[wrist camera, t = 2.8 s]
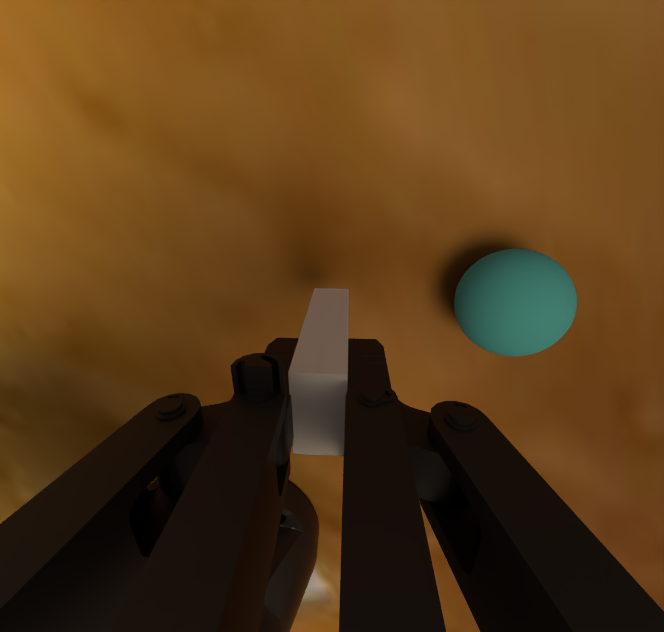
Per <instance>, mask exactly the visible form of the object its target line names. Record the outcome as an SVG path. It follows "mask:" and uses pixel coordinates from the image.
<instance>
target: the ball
mask: <svg viewBox="0 0 664 632" xmlns="http://www.w3.org/2000/svg"><path fill="white" fill-rule="evenodd" d="M576 306H577V295H576V291H575V287H574V284H573V282H572V280H571V278H570V276H569V275H568V273H567V272H566V271H565V269H564V268H563V267H562V266H561V265H560V264H559V263H557V262H556V261H555V260H553V259H552V258H550V257H548V256H546V255H544V254H542V253H539V252H536V251H532V250H527V249H506V250H501V251H498V252H494V253H491V254H489V255H487V256H485V257H483V258H481V259H480V260H478V261H477V262H475V263H474V264H473V265H472V266H471V267H470V268H469V269H468V270H467V271H466V272H465V273H464V275H463V276H462V278H461V280H460V281H459V283H458V286H457V289H456V292H455V298H454V310H455V315H456V318H457V321H458V324H459V325H460V327H461V329H462V331H463V332H464V333H465V335H466V336H467V337H468V338H469V339H470V340H471V341H472V342H473V343H475V344H476V345H478V346H479V347H481V348H483V349H485V350H487V351H489V352H492V353H495V354H499V355H504V356H524V355H530V354H534V353H537V352H540V351H542V350H544V349H546V348H548V347H550V346H551V345H553V344H554V343H555V342H557V341H558V340H559V339H560V338H561V337H562V336H563V335H564V334H565V333H566V331H567V330H568V329H569V327H570V325H571V324H572V322H573V319H574V317H575V313H576Z"/></svg>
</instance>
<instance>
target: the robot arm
mask: <svg viewBox="0 0 664 632" xmlns="http://www.w3.org/2000/svg"><path fill="white" fill-rule="evenodd" d="M348 318H349V289H324V288H314V291H313V295H312V298H311V301H310V304H309V307H308V311H307V314H306V317H305V320H304V323H303V327H302V330H301V333H300V336H299V338H276V339H275V340H274V341H273V342H271V343H270V344H269V345H268V347H267V349H266V351H265V353H254V354H250V355H246V356H243V357H241V358H239V359H237V360H236V361H235V362H234V363H233V364H232V365H231V373H232V380H233V387H234V395H233V397H232V399H231V400H230V401H227V402H224V403H220V404H214V405H209V406H203V407H201V404H200V401H199V400H198V398H197V397H196V396H194V395H191V394H185V393H178V394H172V395H168V396H165V397H162V398H160V399H157V400H156V401H154V402H153V403H151V404H149V405H148V406H147V407H145V408H144V409H143V410H142V411H140V412H139V413H138V414H137V415H136V416H134V417H133V418H132V419H131V420H129V421H128V422H127V423H126V424H124V425H123V426H122V427H121V428H119V429H118V430H117V431H116V432H114V433H113V434H112V435H111V436H109V437H108V438H107V439H106V440H104V441H103V442H102V443H101V444H99V445H98V446H97V447H96V448H94V449H93V450H92V451H91V452H89V453H88V454H87V455H86V456H84V457H83V458H82V459H81V460H79V461H78V462H77V463H76V464H74V465H73V466H72V467H71V468H69V469H68V470H67V471H66V472H64V473H63V474H62V475H61V476H60V477H58V478H57V479H56V480H55V481H53V482H52V483H51V484H50V485H48V486H47V487H46V488H45V489H43V490H42V491H41V492H40V493H38V494H37V495H36V496H35V497H33V498H32V499H31V500H30V501H28V502H27V503H26V504H25V505H23V506H22V507H21V508H20V509H18V510H17V511H16V512H15V513H13V514H12V515H11V516H10V517H8V518H7V519H6V520H5V521H3V522H2V523H1V524H0V632H290V629H291V627H292V624H293V622H294V619H295V616H296V614H297V611H298V609H299V606H300V603H301V601H302V598H303V596H304V593H305V590H306V588H307V585H308V582H309V580H310V577H311V575H312V572H313V569H314V566H315V562H316V558H317V548H318V536H319V524H318V519H317V515H316V513H315V510H314V509H313V507H312V505H311V503H310V502H309V501H308V499H307V498H306V497H305V496H304V495H303V493H302V492H301V491H300V490H298V489H297V488H296V487H295V486H294V485H292V484H291V483H290V482H288V479H289V474H290V451H291V447H292V443H293V454H312V455H336V456H344V469H343V506H342V543H341V580H340V617H339V632H446V629H445V624H444V619H443V614H442V609H441V605H440V600H439V595H438V590H437V585H436V580H435V575H434V570H433V566H432V561H431V556H430V551H429V546H428V541H427V536H426V532H425V527H424V522H423V517H422V512H421V507H420V504H421V506H422V508H423V510H424V512H425V514H426V517H427V519H428V521H429V523H430V525H431V527H432V529H433V531H434V534H435V536H436V538H437V540H438V542H439V544H440V546H441V548H442V551H443V553H444V555H445V557H446V559H447V561H448V563H449V566H450V568H451V570H452V572H453V574H454V576H455V578H456V580H457V583H458V585H459V587H460V589H461V591H462V593H463V595H464V597H465V600H466V602H467V604H468V606H469V608H470V610H471V612H472V615H473V617H474V619H475V621H476V623H477V625H478V627H479V629H480V632H664V611H663V610H662V609H661V608H660V607H659V606H658V605H657V604H656V603H655V601H654V600H653V599H652V598H651V597H650V596H649V595H648V594H647V593H646V592H645V590H644V589H643V588H642V587H641V586H640V585H639V584H638V583H637V582H636V581H635V579H634V578H633V577H632V576H631V575H630V574H629V573H628V572H627V571H626V570H625V568H624V567H623V566H622V565H621V564H620V563H619V562H618V561H617V560H616V558H615V557H614V556H613V555H612V554H611V553H610V552H609V551H608V550H607V549H606V547H605V546H604V545H603V544H602V543H601V542H600V541H599V540H598V539H597V538H596V536H595V535H594V534H593V533H592V532H591V531H590V530H589V529H588V528H587V527H586V525H585V524H584V523H583V522H582V521H581V520H580V519H579V518H578V517H577V516H576V514H575V513H574V512H573V511H572V510H571V509H570V508H569V507H568V506H567V505H566V503H565V502H564V501H563V500H562V499H561V498H560V497H559V496H558V495H557V493H556V492H555V491H554V490H553V489H552V488H551V487H550V486H549V485H548V484H547V482H546V481H545V480H544V479H543V478H542V477H541V476H540V475H539V474H538V473H537V471H536V470H535V469H534V468H533V467H532V466H531V465H530V464H529V463H528V462H527V460H526V459H525V458H524V457H523V456H522V455H521V454H520V453H519V452H518V451H517V449H516V448H515V447H514V446H513V445H512V444H511V443H510V442H509V441H508V439H507V438H506V437H505V436H504V435H503V434H502V433H501V432H500V431H499V430H498V428H497V427H496V426H495V425H494V424H493V423H492V422H491V421H490V420H489V419H488V417H487V416H486V415H484V414H483V413H482V412H481V411H480V410H478V409H477V408H475V407H473V406H471V405H469V404H466V403H462V402H457V401H444V402H441V403H437V404H436V405H435V406H434V407H433V408H431V413H430V412H426V411H422V410H418V409H415V408H412V407H409V406H407V405H405V404H403V403H402V402H400V401H399V400H398V397H397V395H396V393H395V392H394V391H393V390H392V389H391V384H390V379H389V373H388V368H387V364H386V358H385V352H384V347H383V346H382V345H381V344H380V343H379V342H378V341H377V340H376V339H348ZM156 477H157V479H156V481H155V482H154V483H153V484H151V485H150V486H149V487H148V488H146V487H147V486H148V485H149V484H150V483H151V482H152V481H153V480H154V479H155V478H156ZM418 497H419V498H418ZM419 500H420V502H419Z"/></svg>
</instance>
